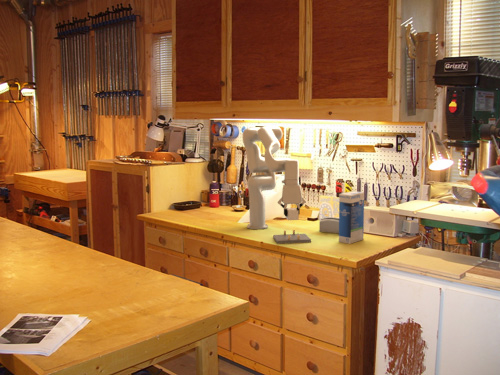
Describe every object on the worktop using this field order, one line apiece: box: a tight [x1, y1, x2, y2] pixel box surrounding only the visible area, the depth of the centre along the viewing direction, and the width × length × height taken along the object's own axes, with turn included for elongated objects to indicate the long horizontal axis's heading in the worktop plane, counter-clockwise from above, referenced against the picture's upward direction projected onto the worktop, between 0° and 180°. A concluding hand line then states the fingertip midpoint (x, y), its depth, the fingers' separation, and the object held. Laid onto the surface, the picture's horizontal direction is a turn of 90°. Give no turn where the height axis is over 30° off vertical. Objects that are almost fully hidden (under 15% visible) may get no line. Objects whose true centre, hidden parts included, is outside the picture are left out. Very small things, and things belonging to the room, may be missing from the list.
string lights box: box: [338, 190, 365, 245], centre depth 271 cm, size 13×8×26 cm, turn 135°
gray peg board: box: [272, 229, 312, 245], centre depth 275 cm, size 14×18×4 cm
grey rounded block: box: [319, 216, 339, 234], centre depth 293 cm, size 17×5×10 cm, turn 62°
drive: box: [285, 207, 300, 221], centre depth 273 cm, size 9×6×5 cm, turn 5°
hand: (291, 215), depth 274 cm, fingers closed on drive, 5 cm apart
